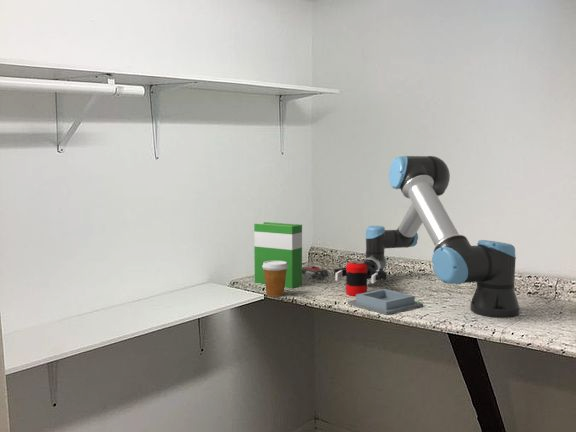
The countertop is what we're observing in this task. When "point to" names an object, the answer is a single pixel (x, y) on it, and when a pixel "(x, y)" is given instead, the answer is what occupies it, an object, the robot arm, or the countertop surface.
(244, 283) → the countertop surface
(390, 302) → the dock
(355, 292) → the soda can
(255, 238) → the cereal box
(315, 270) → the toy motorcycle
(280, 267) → the disposable coffee cup
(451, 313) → the countertop surface
